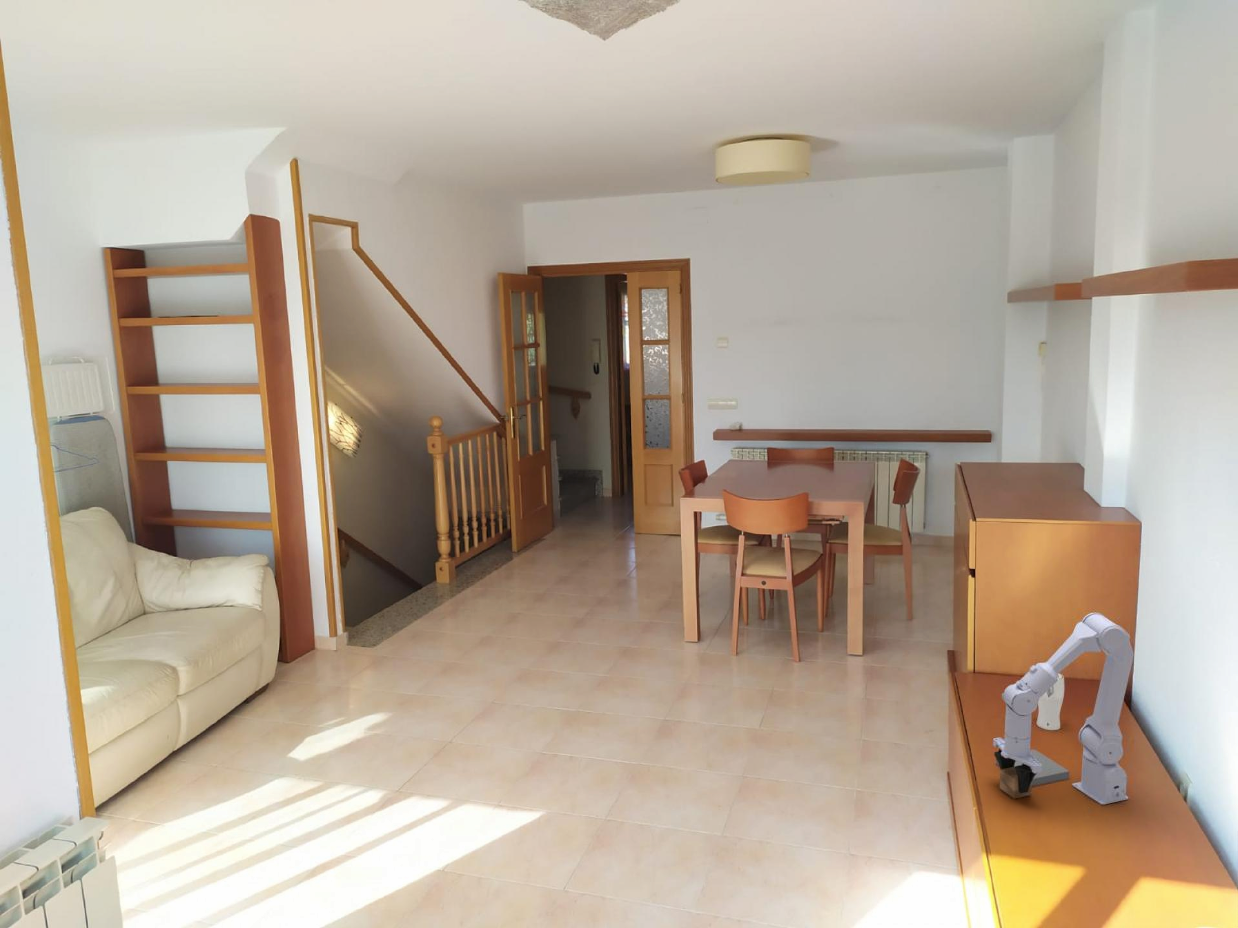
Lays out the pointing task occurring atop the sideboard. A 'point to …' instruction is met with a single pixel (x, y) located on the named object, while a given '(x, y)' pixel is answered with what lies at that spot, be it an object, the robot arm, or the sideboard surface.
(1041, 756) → the gray slab
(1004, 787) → the walnut block
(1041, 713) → the beer glass
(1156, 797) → the sideboard surface
